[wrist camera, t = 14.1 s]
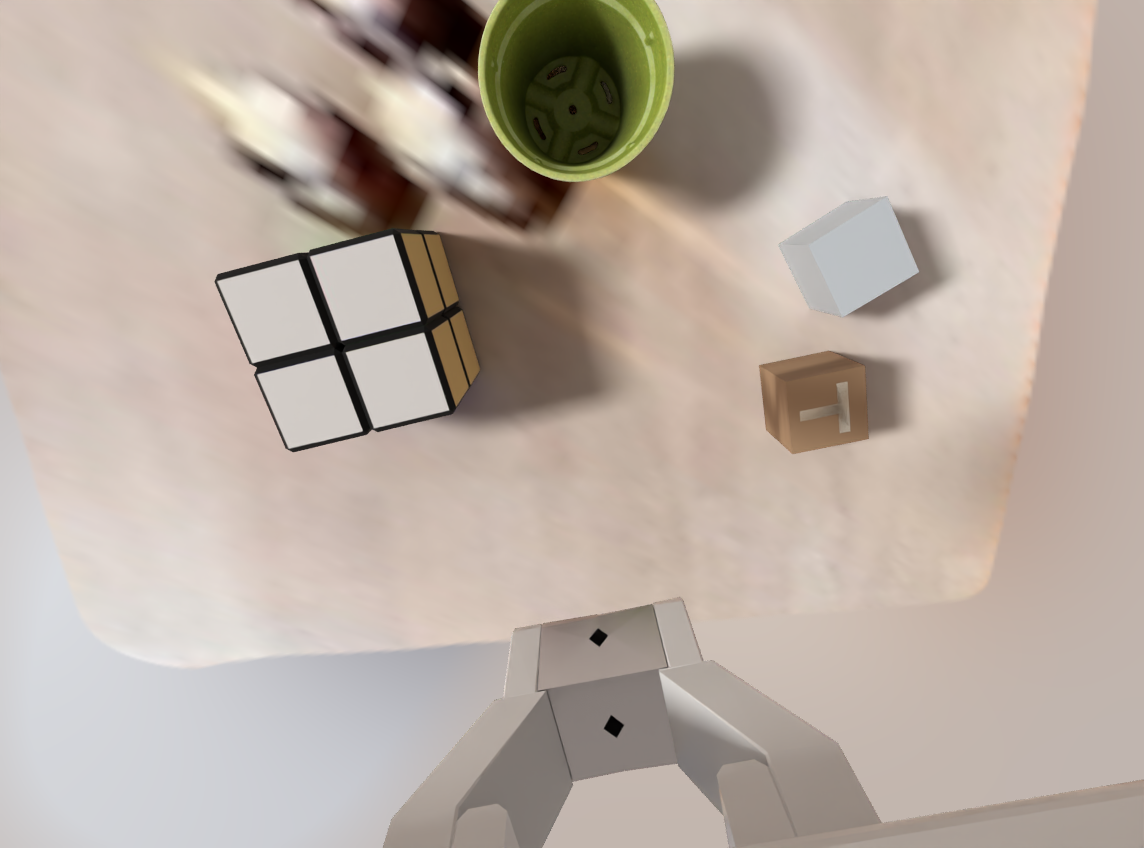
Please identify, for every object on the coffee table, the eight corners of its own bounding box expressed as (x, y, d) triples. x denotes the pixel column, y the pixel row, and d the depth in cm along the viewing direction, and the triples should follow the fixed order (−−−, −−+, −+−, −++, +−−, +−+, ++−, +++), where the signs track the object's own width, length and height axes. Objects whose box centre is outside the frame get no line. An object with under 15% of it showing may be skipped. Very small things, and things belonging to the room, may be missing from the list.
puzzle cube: (350, 406, 41) (285, 456, 31) (296, 267, 38) (207, 276, 28) (482, 373, 40) (457, 414, 31) (439, 229, 37) (396, 225, 28)
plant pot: (672, 149, 36) (705, 121, 27) (542, 220, 37) (536, 215, 29) (608, -7, 33) (622, -89, 25) (470, 76, 34) (440, 24, 26)
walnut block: (865, 365, 35) (828, 350, 40) (785, 381, 35) (759, 365, 40) (868, 438, 37) (833, 416, 41) (792, 454, 37) (766, 429, 42)
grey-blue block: (777, 244, 38) (808, 245, 33) (845, 201, 37) (887, 196, 32) (808, 308, 39) (842, 317, 34) (875, 268, 38) (919, 272, 34)
